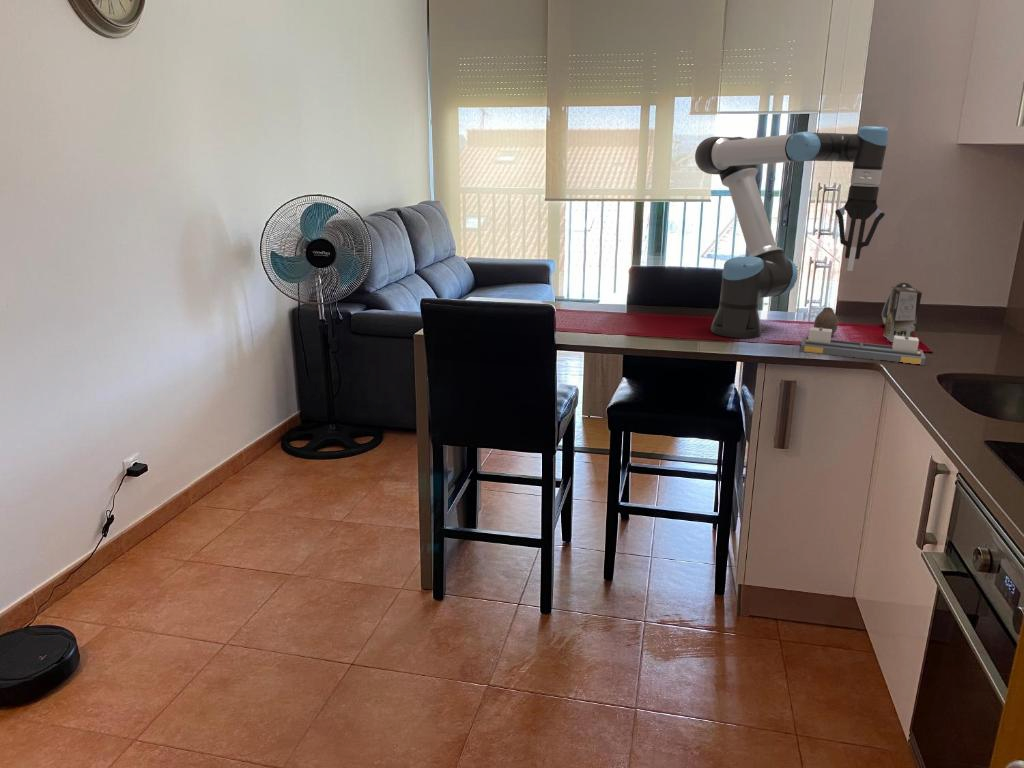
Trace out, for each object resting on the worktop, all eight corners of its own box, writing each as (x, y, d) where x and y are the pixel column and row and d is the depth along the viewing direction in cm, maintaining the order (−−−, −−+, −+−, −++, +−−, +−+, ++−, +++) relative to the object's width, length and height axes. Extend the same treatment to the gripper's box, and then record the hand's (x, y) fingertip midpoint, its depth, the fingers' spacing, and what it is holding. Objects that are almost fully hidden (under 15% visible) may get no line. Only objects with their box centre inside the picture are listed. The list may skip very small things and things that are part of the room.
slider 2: (892, 352, 210) (895, 337, 209) (891, 349, 214) (894, 334, 213) (916, 354, 208) (919, 339, 207) (915, 351, 212) (918, 336, 210)
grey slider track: (800, 351, 217) (801, 342, 216) (801, 343, 226) (803, 335, 225) (924, 365, 205) (926, 356, 204) (920, 356, 214) (922, 347, 213)
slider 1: (807, 343, 218) (809, 328, 217) (808, 340, 222) (810, 326, 221) (829, 345, 216) (831, 331, 215) (830, 342, 220) (832, 328, 218)
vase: (839, 335, 237) (843, 308, 234) (831, 339, 232) (835, 311, 230) (817, 331, 242) (821, 304, 239) (809, 335, 237) (813, 307, 234)
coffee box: (912, 345, 227) (923, 292, 222) (890, 343, 228) (899, 291, 223) (904, 338, 236) (913, 287, 231) (882, 336, 237) (891, 285, 232)
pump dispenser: (915, 327, 251) (923, 281, 246) (912, 333, 242) (920, 286, 238) (882, 322, 256) (889, 278, 251) (877, 328, 248) (885, 282, 243)
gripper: (838, 184, 207) (824, 269, 215) (890, 187, 202) (874, 274, 209) (839, 183, 214) (826, 266, 221) (890, 185, 209) (874, 270, 216)
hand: (849, 270), depth 215 cm, fingers closed
